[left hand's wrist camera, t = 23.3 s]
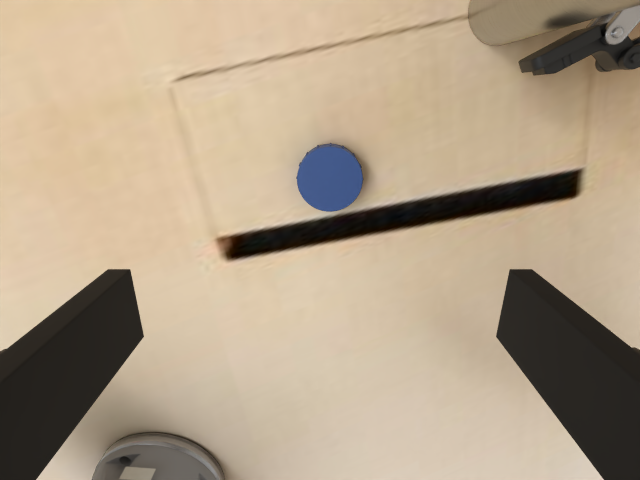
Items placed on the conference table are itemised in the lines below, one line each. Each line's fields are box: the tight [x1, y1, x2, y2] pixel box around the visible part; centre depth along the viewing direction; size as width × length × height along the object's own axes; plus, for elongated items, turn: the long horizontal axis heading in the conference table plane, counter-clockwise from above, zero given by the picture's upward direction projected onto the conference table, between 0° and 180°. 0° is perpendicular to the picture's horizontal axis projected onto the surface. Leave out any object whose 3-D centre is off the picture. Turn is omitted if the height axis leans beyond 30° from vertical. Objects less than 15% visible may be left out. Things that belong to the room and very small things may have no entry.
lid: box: [297, 143, 363, 211], centre depth 30 cm, size 5×5×2 cm
